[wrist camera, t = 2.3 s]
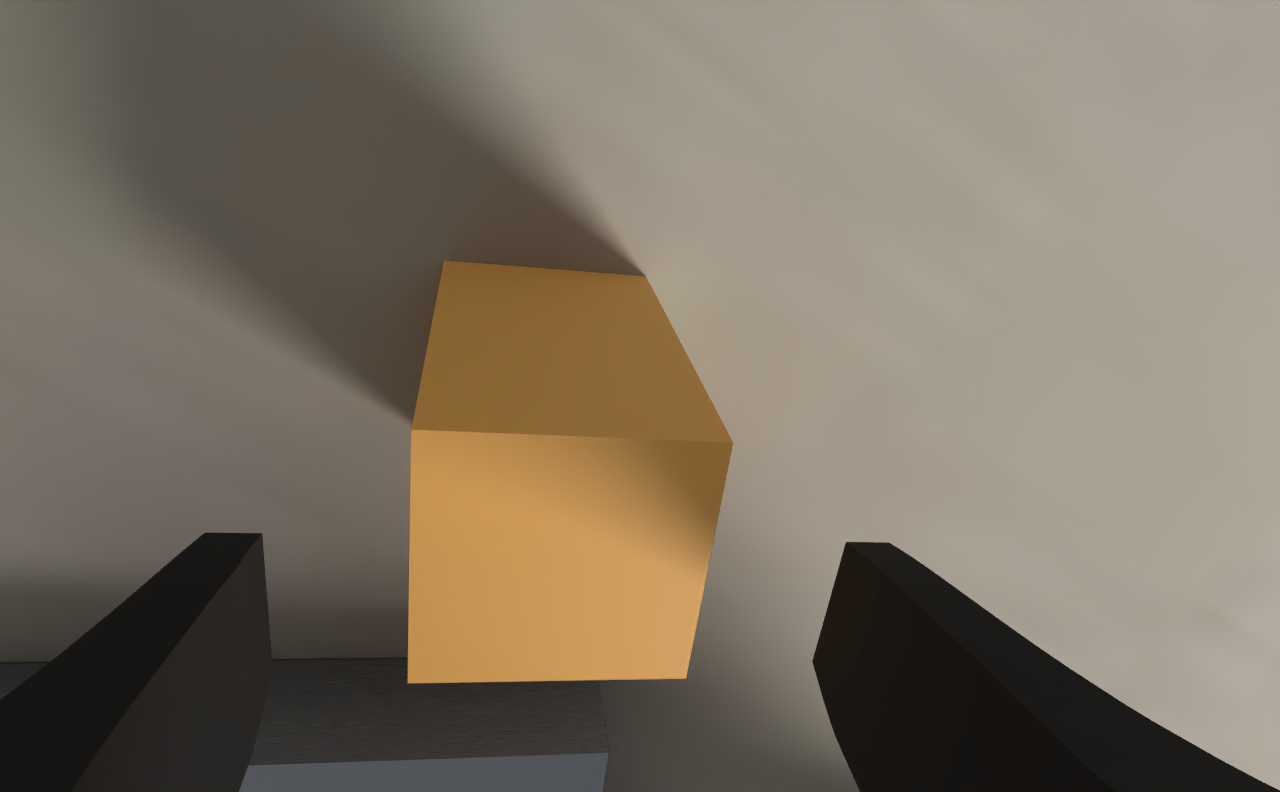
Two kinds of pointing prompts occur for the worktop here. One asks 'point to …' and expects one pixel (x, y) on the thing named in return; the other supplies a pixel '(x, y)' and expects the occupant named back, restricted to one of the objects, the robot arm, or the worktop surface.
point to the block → (558, 482)
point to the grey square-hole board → (414, 731)
